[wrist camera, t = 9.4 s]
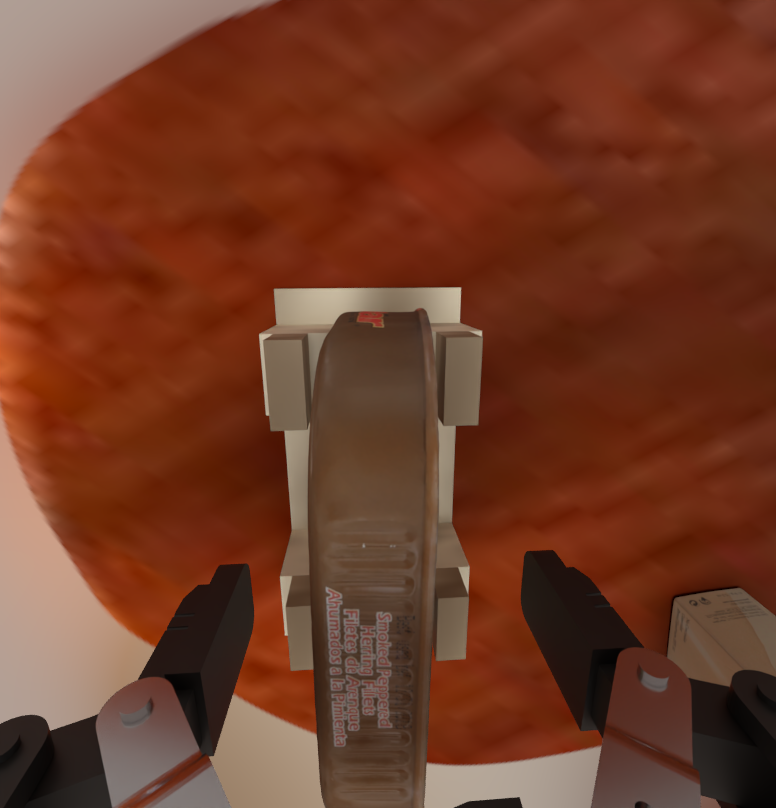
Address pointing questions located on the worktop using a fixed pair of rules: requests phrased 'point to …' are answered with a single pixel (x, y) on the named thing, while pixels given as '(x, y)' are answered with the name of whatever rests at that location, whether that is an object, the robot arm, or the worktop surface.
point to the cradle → (290, 411)
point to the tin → (373, 555)
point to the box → (721, 635)
